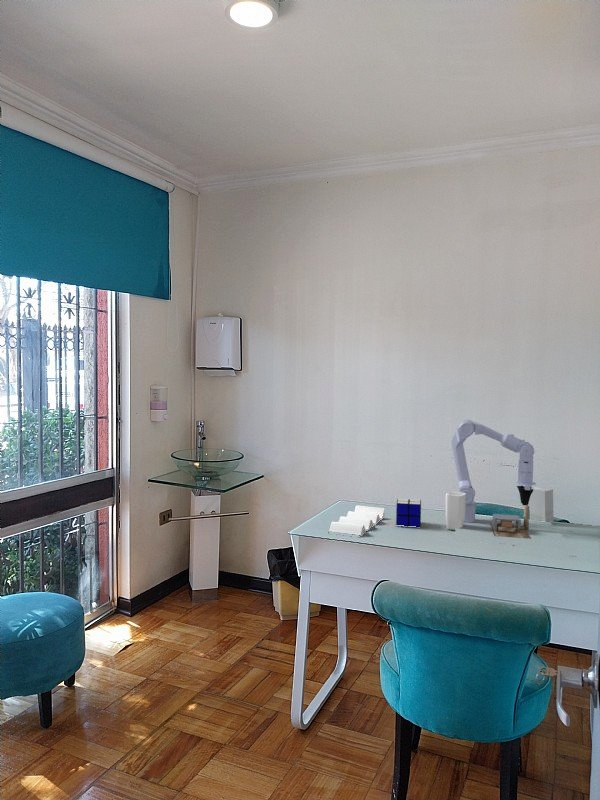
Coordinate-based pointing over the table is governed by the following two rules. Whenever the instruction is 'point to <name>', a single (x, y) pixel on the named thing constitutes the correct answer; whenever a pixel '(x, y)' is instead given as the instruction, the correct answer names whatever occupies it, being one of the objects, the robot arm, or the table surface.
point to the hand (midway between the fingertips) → (524, 504)
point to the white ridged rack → (357, 520)
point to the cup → (455, 509)
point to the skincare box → (541, 505)
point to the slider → (513, 528)
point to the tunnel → (506, 518)
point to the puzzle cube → (408, 512)
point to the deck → (512, 533)
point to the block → (506, 523)
